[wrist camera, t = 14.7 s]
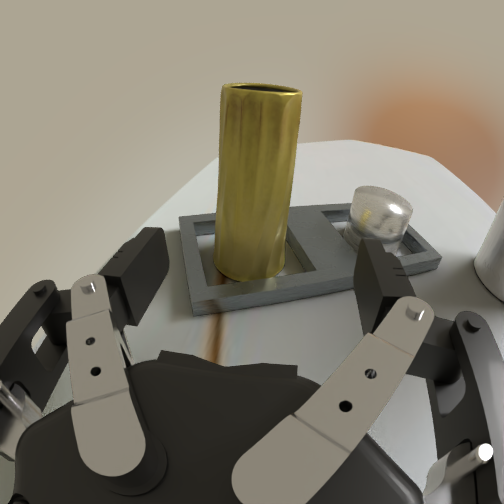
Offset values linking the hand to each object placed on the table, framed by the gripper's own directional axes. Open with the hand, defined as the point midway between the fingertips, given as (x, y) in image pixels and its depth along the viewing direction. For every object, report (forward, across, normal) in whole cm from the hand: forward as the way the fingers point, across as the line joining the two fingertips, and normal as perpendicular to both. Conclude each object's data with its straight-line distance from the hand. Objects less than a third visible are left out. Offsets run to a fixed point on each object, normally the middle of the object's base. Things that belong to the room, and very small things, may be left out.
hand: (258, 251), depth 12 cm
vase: (+11, +2, +8) cm, 14 cm away
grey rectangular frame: (+14, -4, +8) cm, 17 cm away
